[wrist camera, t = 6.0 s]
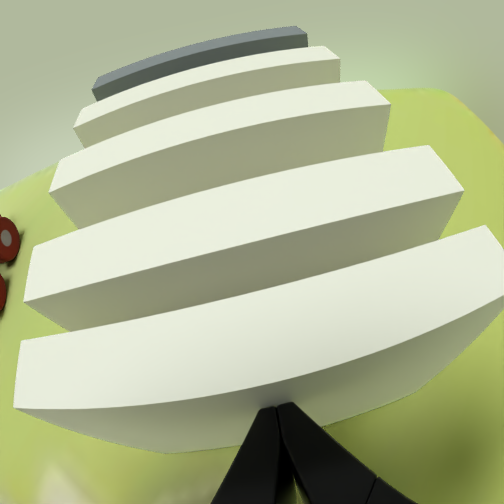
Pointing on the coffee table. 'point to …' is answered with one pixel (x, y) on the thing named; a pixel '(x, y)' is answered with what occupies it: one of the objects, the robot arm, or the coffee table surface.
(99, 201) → the domino
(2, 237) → the toy fire truck
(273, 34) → the domino
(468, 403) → the coffee table surface
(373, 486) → the robot arm
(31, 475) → the coffee table surface
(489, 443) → the coffee table surface
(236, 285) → the domino
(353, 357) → the domino
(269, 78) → the domino
